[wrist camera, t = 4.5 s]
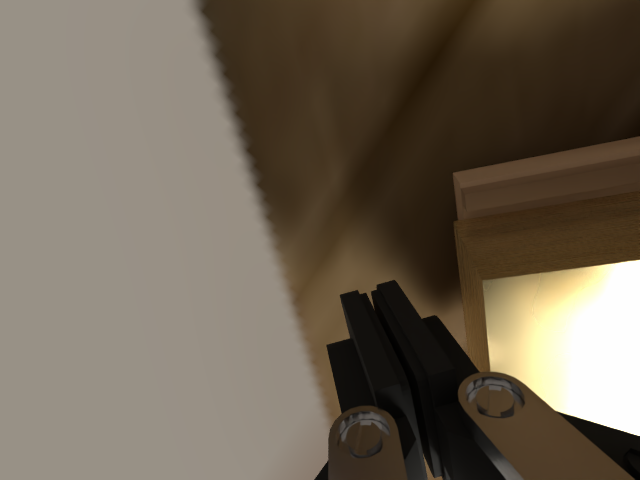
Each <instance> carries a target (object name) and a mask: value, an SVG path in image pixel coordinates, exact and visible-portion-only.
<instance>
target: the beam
mask: <svg viewBox="0 0 640 480" xmlns="http://www.w3.org/2000/svg"><path fill="white" fill-rule="evenodd" d="M453 181H454V190H455V198H456V207H457V216H458V220H464V219H470V218H476V217H482V216H488V215H494V214H501V213H507V212H513V211H519V210H525V209H531V208H537V207H543V206H549V205H555V204H562V203H568V202H574V201H580V200H586V199H592V198H598V197H604V196H610V195H617V194H623V193H629V192H635V191H640V136H639V137H634V138H629V139H624V140H619V141H613V142H608V143H603V144H598V145H593V146H588V147H583V148H578V149H572V150H567V151H562V152H557V153H552V154H547V155H542V156H536V157H531V158H526V159H521V160H516V161H511V162H506V163H501V164H495V165H490V166H485V167H480V168H475V169H470V170H465V171H460V172H454V173H453Z"/></svg>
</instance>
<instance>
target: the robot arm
mask: <svg viewBox="0 0 640 480" xmlns="http://www.w3.org/2000/svg"><path fill="white" fill-rule="evenodd" d="M371 295H372V300H373V305H374V308H373V306H372V304H371V302H370V300H369V298H368V296H367V294H366V293H363V294H359V292H358V290H356V291H352V292H348V293H345V294H341V295H340V298H341V303H342V307H343V311H344V315H345V319H346V323H347V327H348V331H349V335H350V339H346V340H343V341H339V342H335V343H332V344H328V345H327V350H328V355H329V359H330V364H331V368H332V372H333V377H334V381H335V386H336V390H337V395H338V399H339V404H340V408H341V413H342V414H341V415H340V416H339V417H338V418H337V419H336V420H335V421H334V423H333V425H332V427H331V429H330V433H329V439H328V449H329V450H328V461H327V463H326V464H325V466H324V467H323V468H322V470H321V471H320V473H319V474H318V475H317V477H316V478H315V479H314V480H427V473H426V467H425V462H424V457H425V459H426V461H427V464H428V466H429V468H430V471H431V473H432V475H433V477H434V478H436V477H440V476H442V478H443V480H640V436H639V435H636V434H632V433H629V432H626V431H622V430H619V429H615V428H612V427H609V426H605V425H602V424H599V423H595V422H592V421H589V420H585V419H582V418H578V417H575V416H572V415H568V414H565V413H562V412H558V411H555V410H554V409H553V408H552V407H551V406H549V405H548V404H547V403H546V402H545V401H544V400H542V399H541V398H540V397H539V396H538V395H537V394H536V393H534V392H533V391H532V390H531V389H530V388H529V387H527V386H526V385H525V384H524V383H523V382H521V381H520V380H518V379H517V378H515V377H513V376H510V375H507V374H505V373H500V372H494V371H491V372H479V370H478V369H477V368H476V366H475V365H474V364H473V362H472V361H471V360H470V358H469V357H468V356H467V355H466V353H465V352H464V351H463V349H462V348H461V347H460V345H459V344H458V343H457V341H456V340H455V339H454V337H453V336H452V335H451V333H450V332H449V331H448V330H447V328H446V327H445V326H444V324H443V323H442V322H441V320H440V319H439V318H438V317H437V316H435V315H434V316H430V317H426V318H423V319H421V317H420V316H419V314H418V313H417V311H416V310H415V308H414V307H413V305H412V304H411V302H410V301H409V300H408V298H407V297H406V295H405V294H404V292H403V291H402V289H401V288H400V286H399V285H398V283H397V282H396V281H395V280H393V281H389V282H385V283H382V284H378V285H377V290H374V291H371ZM374 309H375V310H374ZM423 454H424V457H423Z"/></svg>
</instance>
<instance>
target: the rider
mask: <svg viewBox="0 0 640 480" xmlns="http://www.w3.org/2000/svg"><path fill="white" fill-rule="evenodd" d="M453 224H454V233H455V241H456V250H457V259H458V268H459V276H460V285H461V294H462V303H463V311H464V320H465V329H466V337H467V346H468V353H469V356H470V359H471V361H472V362H473V364H474V365H475V366H476V368H477V369H478V370H479V372H491V371H494V372H500V373H505V374H507V375H510V376H513V377H515V378H517V379H518V380H520V381H521V382H523V383H524V384H525V385H526V386H527V387H529V388H530V389H531V390H532V391H533V392H534V393H536V394H537V395H538V396H539V397H540V398H541V399H542V400H544V401H545V402H546V403H547V404H548V405H549V406H551V407H552V408H553V409H554V410H555V411H558V412H562V413H565V414H568V415H572V416H575V417H578V418H582V419H585V420H589V421H592V422H595V423H599V424H602V425H605V426H609V427H612V428H615V429H619V430H622V431H626V432H629V433H632V434H636V435H639V436H640V191H635V192H629V193H623V194H617V195H610V196H604V197H598V198H592V199H586V200H580V201H574V202H568V203H562V204H555V205H549V206H543V207H537V208H531V209H525V210H519V211H513V212H507V213H501V214H494V215H488V216H482V217H476V218H470V219H464V220H458V221H453Z"/></svg>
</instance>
